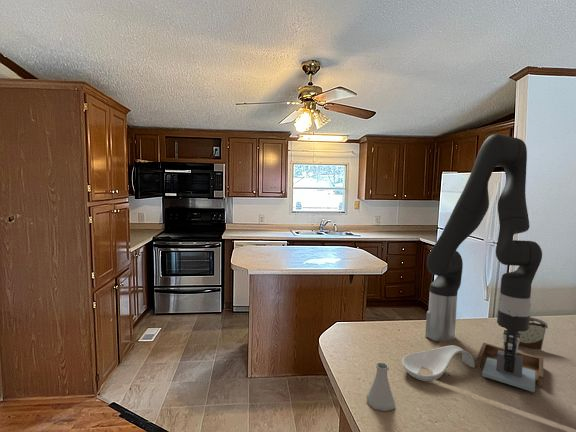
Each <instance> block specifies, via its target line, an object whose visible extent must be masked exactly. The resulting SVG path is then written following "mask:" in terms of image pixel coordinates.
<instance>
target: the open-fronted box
mask: <svg viewBox="0 0 576 432" xmlns="http://www.w3.org/2000/svg"><path fill="white" fill-rule="evenodd" d="M498 350H501V351H504V349H503V346H497V345H494V344H490V343H486V342H482V344H481V347H480V350H479V352H478V354H477V357H476V363H475V368H476V369H477V368H478V369H481V370H483V369H484V366H485V363H486V359H487V357H488V358H491V359H495V360H497V353H498ZM516 355H520V356H523V368H527V369H530V370H534V371H535V387H539V388H543V383H544V358H543V357H539V356H536V355H533V354H532V355H531V354H529V353H524V352H521V351H518V352H517V353H516Z"/></svg>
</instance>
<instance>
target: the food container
mask: <svg viewBox="0 0 576 432" xmlns="http://www.w3.org/2000/svg"><path fill="white" fill-rule="evenodd" d="M546 329H547V330H548V329H549V328H548V323H547V322H546V321H545V320H542V319H539V318H535V317H531V316H530V323H529V330H527V331H524V332H521V331H519V332H518V333H521V336H520V342H519V347H522V348H527V349H529V350H535V351H542V348H543V344H544V339H545V334H546Z"/></svg>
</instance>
